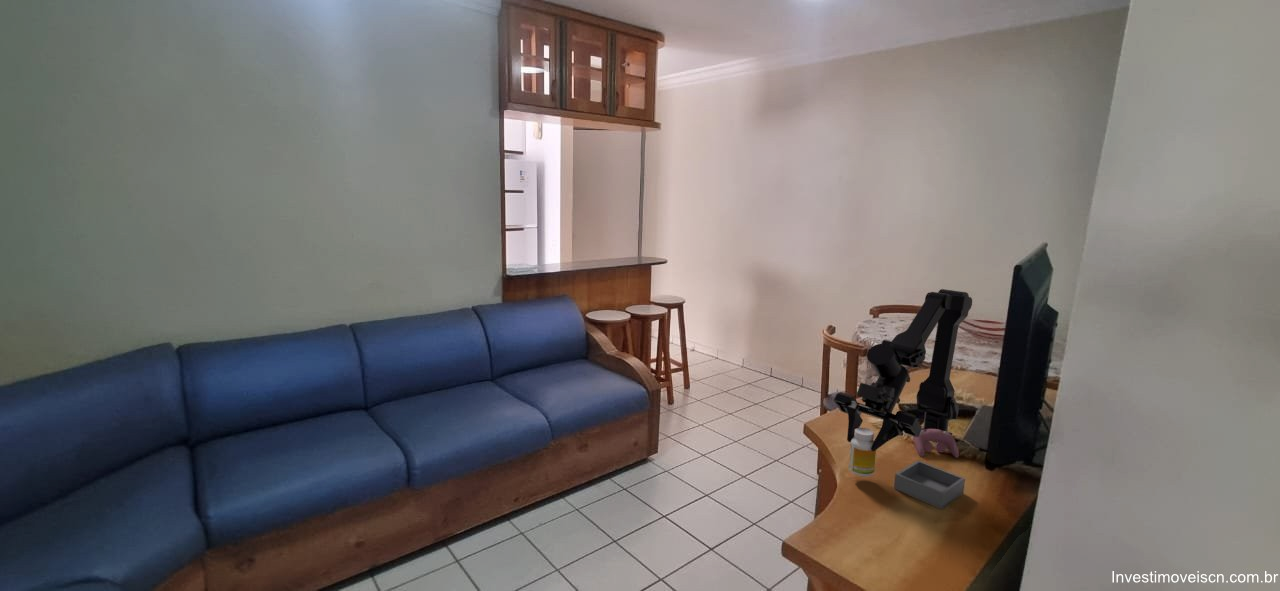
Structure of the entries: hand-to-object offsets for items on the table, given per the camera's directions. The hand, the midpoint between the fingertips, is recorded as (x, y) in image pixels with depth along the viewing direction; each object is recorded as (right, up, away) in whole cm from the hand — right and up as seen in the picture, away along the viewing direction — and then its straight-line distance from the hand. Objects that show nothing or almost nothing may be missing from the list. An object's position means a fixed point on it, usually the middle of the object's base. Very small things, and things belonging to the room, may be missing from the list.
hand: (860, 445), depth 121 cm
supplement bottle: (+1, -7, +2) cm, 7 cm away
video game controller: (+25, -6, +16) cm, 30 cm away
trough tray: (+14, -9, -2) cm, 17 cm away
